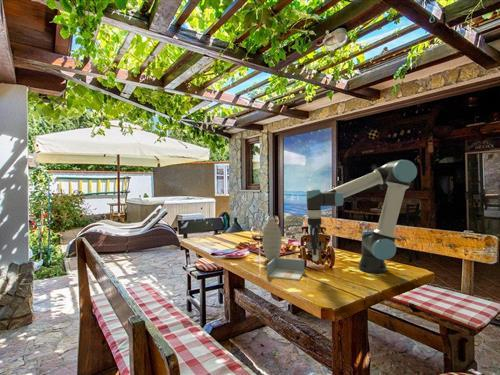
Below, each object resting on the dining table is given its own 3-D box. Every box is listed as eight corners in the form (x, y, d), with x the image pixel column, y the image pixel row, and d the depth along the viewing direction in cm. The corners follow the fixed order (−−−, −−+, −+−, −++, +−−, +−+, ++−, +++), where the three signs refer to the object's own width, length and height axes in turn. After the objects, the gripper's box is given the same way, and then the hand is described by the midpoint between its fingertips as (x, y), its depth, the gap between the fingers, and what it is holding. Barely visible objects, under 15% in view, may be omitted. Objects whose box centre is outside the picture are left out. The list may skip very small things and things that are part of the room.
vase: (277, 256, 207) (276, 216, 206) (285, 261, 195) (284, 218, 194) (260, 258, 203) (259, 217, 202) (267, 263, 191) (266, 219, 190)
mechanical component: (324, 262, 161) (324, 244, 161) (306, 261, 165) (305, 243, 164) (325, 260, 164) (324, 242, 164) (306, 259, 167) (306, 242, 167)
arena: (304, 271, 173) (304, 259, 172) (299, 280, 159) (298, 267, 159) (274, 268, 179) (274, 257, 179) (267, 276, 165) (266, 264, 165)
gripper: (310, 215, 172) (311, 255, 173) (304, 219, 157) (306, 263, 158) (323, 215, 170) (324, 256, 170) (319, 219, 155) (320, 264, 155)
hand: (315, 259), depth 164 cm, fingers closed on mechanical component, 3 cm apart
